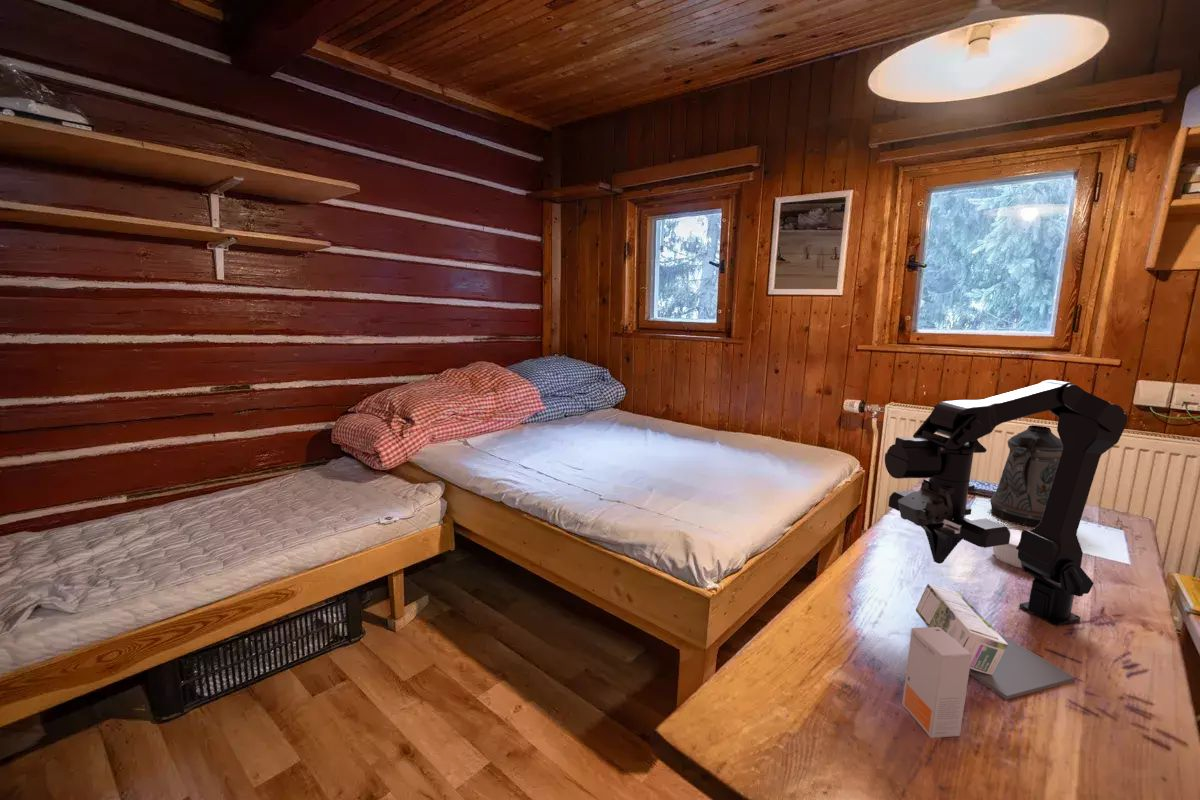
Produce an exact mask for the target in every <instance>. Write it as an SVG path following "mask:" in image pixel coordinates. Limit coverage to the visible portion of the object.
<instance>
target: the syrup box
mask: <svg viewBox="0 0 1200 800" xmlns="http://www.w3.org/2000/svg"><path fill="white" fill-rule="evenodd" d="M915 611H916V613H917V615H918V616H919V617H920V618H921V620H922V622H923V623H924V624H925V625H926V627H940V628H941V629H942V630H943V631H945V632H946V633H947V634H948V635H949V636H951V637H952V638H954V639H955V640H956V641H958V642H959V644H960V645H961V646H962V647H964V648H965V649H966V650H967V651H968V652H970V653H971V654H972V658H971V664H970V669H973V670H976V671H979V672H983V673H986V674H990V675H993V672H994V670H995V669H996V667H997V665H998V663H999V661H1000V659H1001V657H1002V655H1003V653H1004V651H1005V649H1006V647H1007V646H1008V644H1007V643H1006V641H1005V640H1004V639H1003V638H1002V637H1001V636H1000V635H999V634H998V633H999V632H998V631H996V630H995V629H994V628H993V626H992V625H990V623H989V622H988V621H987V620H986V619H985V618H984V617H983V616H982V615H981V614H980V613H979V611H977V610H976V608H975V607H974V606H973V605H972V604H971V603H970V602H969V601H968V600H967V599H966V598H965V597H964V596H963V595H962V594H961V593H960V592H957V591H953V590H951V589H948V588H944V587H941V586H937V585H934V584H931V583H927V585H926V586H925V588H924V591H923V594H922V595H921V598H920V600H919V602H918V604H917V606H916V608H915ZM997 632H998V633H997Z"/></svg>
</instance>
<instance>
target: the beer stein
mask: <svg viewBox="0 0 1200 800" xmlns="http://www.w3.org/2000/svg"><path fill="white" fill-rule="evenodd" d="M1007 447H1008V449H1009V453H1008V455H1007V459H1006V461H1005V464H1004V467H1003V470H1002V474H1001V476H1000V480H999V483H998V485H997V488H996V490H995V493H993V495H992V496H991V497H990V506H991V509H990V510H991V513H992V514H993V515H994V516H996V517H997V518H999V519H1002V520H1004V521H1007V522H1009V523H1013V524H1015V525H1016V524H1017V525H1018V526H1019V525H1020V526H1023V527H1028V528H1029V527H1030V528H1032V529H1033V528H1035V527H1036V526H1037V525H1039V524H1040V522H1041V519H1042V516H1043V513H1044V510H1045V506H1046V503H1047V500H1048V496H1049V493H1050V490H1051V486H1052V483H1053V480H1054V476H1055V473H1056V470H1057V466H1058V463H1059V460H1060V456H1061V453H1062V450H1063V445H1062V442H1061V440H1060V437H1059V436H1056V435H1055V434H1054V433H1053V432H1052V430H1051V428H1050V427H1049V426H1042V425H1034V424H1033V425H1029V426H1028V427H1027V429H1025V430H1023V431H1021V432H1019V433H1017V434H1015V435H1013V436H1012V437H1010V438H1009V439H1008V440H1007Z"/></svg>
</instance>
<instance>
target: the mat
mask: <svg viewBox="0 0 1200 800" xmlns="http://www.w3.org/2000/svg"><path fill="white" fill-rule="evenodd" d="M996 632H997V633H998V634H999V635H1000V636H1001V637H1002V638H1003V639H1004V640H1005V641H1006V643H1007V644H1008V646H1007V647H1006V649H1005V651H1004V653H1003V655H1002V657H1001V659H1000V661H999V663H998V665H997V667H996V669H995V670H994V672H993V675H990V674H986V673H983V672H979V671H976V670H973V669H970V670H969V676H971V677H972V678H974V679H975V680H977V681H979V682H980V683H981V684H982V685H984V686H985V687H987V688H989V689H990V690H992V691H993V692H994V693H995V694H997V695H999V696H1000V697H1001V698H1003V699H1004V700H1005V701H1007V700H1010V699H1015V698H1017V697H1021V696H1025V695H1029V694H1032V693H1036V692H1039V691H1044V690H1047V689H1051V688H1054V687H1057V686H1061V685H1066V684H1068V683H1073V682H1075V681H1076V676H1074V675H1072V674H1070V673H1068V671H1065V670H1063V669H1061V668H1060V667H1058V666H1056V665H1055V664H1053V663H1051V662H1049V660H1046V659H1045V658H1042V657H1041V656H1039V655H1038V654H1035V653H1034V652H1033V651H1031V650H1029V649H1027V648H1025V647H1024V646H1022V645H1020V644H1018V643H1017V642H1015V641H1014V640H1012V639H1011V638H1009V637H1006V636H1005V635H1003V634H1001V633H1000V632H998V631H996Z"/></svg>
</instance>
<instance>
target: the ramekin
mask: <svg viewBox="0 0 1200 800" xmlns="http://www.w3.org/2000/svg"><path fill="white" fill-rule="evenodd" d="M1008 529H1009V531H1010V541H1009V544H1005V545H999V546H992V551H993V554H994V556H995V557H996V559H998V560H999V561H1001V562H1003V563H1005V564H1007V565H1010V566H1013V567H1016V568H1020V569H1022V565H1021V561H1020V559H1018V550H1017V549H1016V547H1017V546H1018V544H1019V542H1020V539H1021V533H1022V531H1023V530H1019V529H1012V528H1008Z"/></svg>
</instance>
